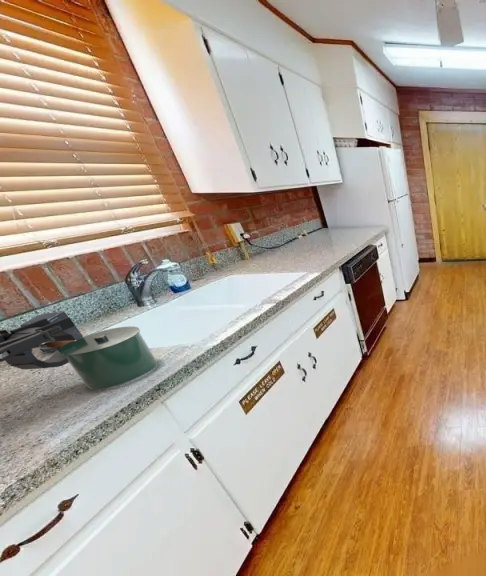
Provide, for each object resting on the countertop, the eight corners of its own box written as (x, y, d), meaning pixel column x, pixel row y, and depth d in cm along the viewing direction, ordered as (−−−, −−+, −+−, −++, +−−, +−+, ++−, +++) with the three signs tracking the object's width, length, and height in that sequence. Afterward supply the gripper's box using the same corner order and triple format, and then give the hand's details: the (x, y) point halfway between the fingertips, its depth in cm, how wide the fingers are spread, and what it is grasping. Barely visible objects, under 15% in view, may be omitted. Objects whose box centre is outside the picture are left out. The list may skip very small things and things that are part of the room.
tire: (41, 376, 77) (12, 341, 72) (19, 377, 76) (-11, 342, 72) (90, 351, 87) (68, 319, 82) (72, 352, 86) (48, 320, 82)
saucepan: (9, 398, 77) (-28, 356, 71) (73, 364, 89) (45, 327, 84) (126, 389, 80) (99, 349, 75) (173, 358, 92) (152, 322, 87)
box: (58, 341, 100) (38, 314, 96) (84, 336, 103) (64, 310, 99) (41, 353, 94) (18, 324, 90) (69, 347, 97) (47, 319, 92)
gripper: (-121, 396, 62) (30, 335, 83) (-20, 388, 64) (103, 331, 85) (-154, 367, 58) (12, 312, 80) (-46, 360, 61) (88, 308, 82)
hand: (59, 322), depth 82 cm, fingers closed on tire, 5 cm apart
